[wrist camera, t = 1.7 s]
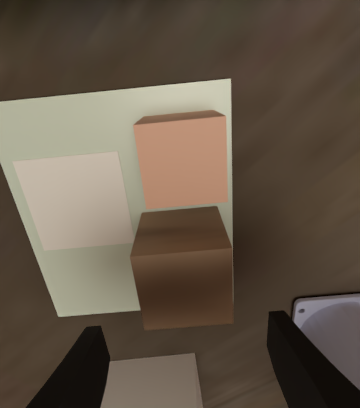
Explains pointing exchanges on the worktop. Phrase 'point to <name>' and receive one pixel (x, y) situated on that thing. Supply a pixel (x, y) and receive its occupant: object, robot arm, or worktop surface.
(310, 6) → the worktop surface
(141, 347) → the worktop surface
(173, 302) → the walnut cube
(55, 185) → the baseplate
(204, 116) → the terracotta block
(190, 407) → the milk
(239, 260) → the worktop surface
